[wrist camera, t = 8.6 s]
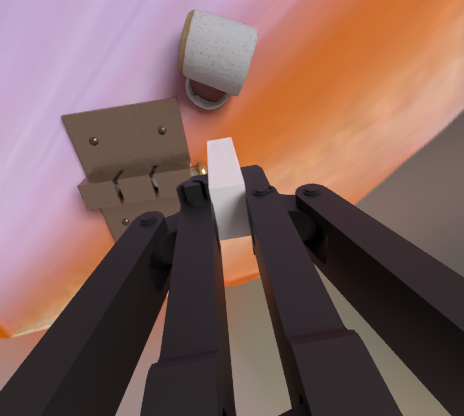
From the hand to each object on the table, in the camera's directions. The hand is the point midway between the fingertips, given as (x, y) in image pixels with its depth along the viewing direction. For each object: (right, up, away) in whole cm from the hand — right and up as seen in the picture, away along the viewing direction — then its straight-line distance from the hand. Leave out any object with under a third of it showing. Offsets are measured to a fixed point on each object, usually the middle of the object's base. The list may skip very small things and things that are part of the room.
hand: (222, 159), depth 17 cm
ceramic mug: (-2, +16, +19) cm, 25 cm away
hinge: (-14, +2, +26) cm, 29 cm away
